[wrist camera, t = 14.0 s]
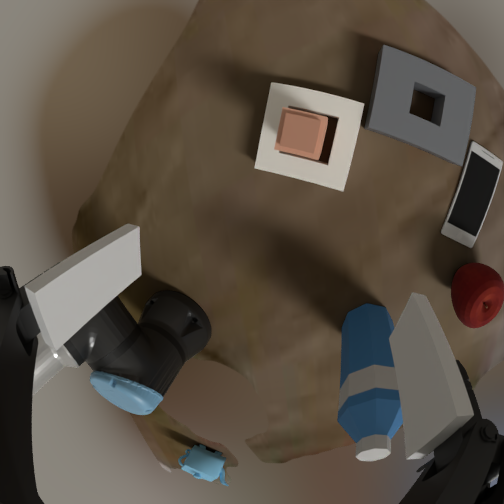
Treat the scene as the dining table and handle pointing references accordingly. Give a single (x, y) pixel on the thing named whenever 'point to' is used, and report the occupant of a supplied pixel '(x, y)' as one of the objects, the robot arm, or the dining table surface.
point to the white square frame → (304, 167)
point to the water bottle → (369, 382)
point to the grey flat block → (399, 101)
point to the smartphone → (472, 195)
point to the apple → (477, 294)
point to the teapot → (204, 464)
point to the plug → (301, 133)
